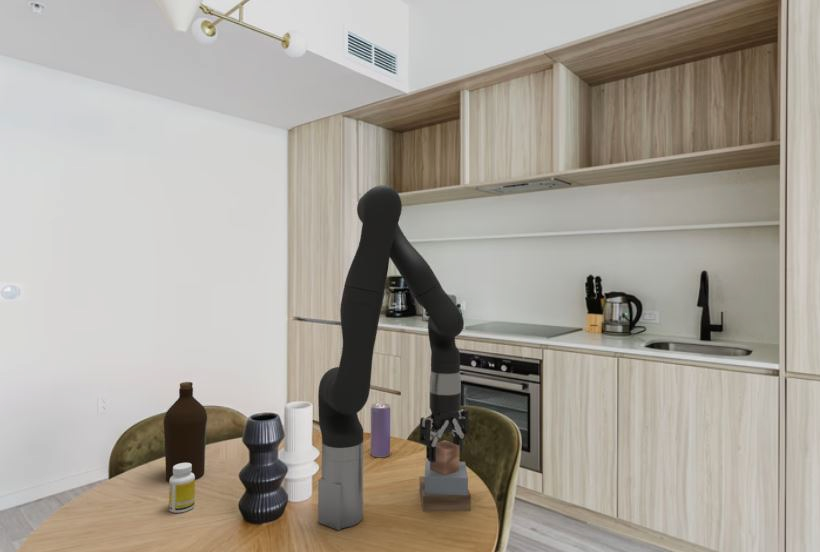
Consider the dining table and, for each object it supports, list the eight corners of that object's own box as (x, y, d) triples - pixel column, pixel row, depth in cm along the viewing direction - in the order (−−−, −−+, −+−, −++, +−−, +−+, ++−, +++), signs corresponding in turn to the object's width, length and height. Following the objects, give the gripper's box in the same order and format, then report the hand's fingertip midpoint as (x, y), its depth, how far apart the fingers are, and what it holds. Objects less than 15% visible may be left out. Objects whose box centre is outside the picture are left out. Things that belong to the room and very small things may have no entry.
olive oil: (172, 488, 122) (173, 389, 123) (157, 476, 130) (157, 383, 130) (213, 475, 130) (214, 383, 130) (196, 465, 137) (197, 377, 138)
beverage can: (389, 458, 144) (389, 408, 144) (369, 458, 144) (369, 407, 144) (390, 451, 150) (391, 402, 150) (371, 450, 150) (371, 402, 150)
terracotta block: (444, 475, 113) (444, 450, 113) (430, 469, 117) (430, 444, 117) (459, 470, 116) (459, 445, 116) (445, 464, 120) (445, 440, 120)
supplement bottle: (199, 504, 114) (200, 463, 114) (182, 515, 109) (182, 471, 109) (181, 501, 115) (182, 460, 115) (163, 511, 110) (163, 468, 110)
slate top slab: (467, 495, 112) (467, 478, 112) (424, 494, 112) (424, 476, 112) (464, 477, 122) (465, 461, 122) (425, 476, 122) (425, 460, 122)
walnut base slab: (470, 512, 112) (470, 495, 112) (423, 513, 111) (423, 496, 111) (462, 491, 123) (462, 475, 123) (419, 492, 122) (419, 476, 122)
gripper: (433, 397, 109) (433, 469, 109) (476, 388, 118) (476, 454, 118) (412, 391, 115) (412, 459, 115) (455, 383, 124) (454, 446, 124)
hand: (444, 457), depth 116 cm, fingers open, 8 cm apart
